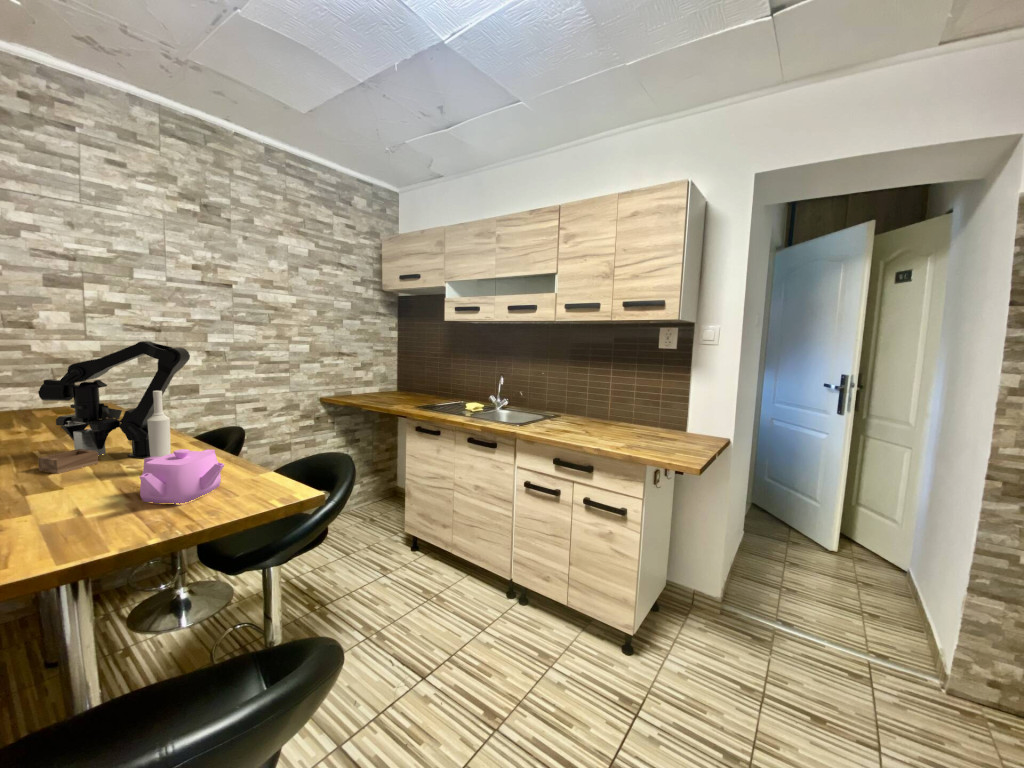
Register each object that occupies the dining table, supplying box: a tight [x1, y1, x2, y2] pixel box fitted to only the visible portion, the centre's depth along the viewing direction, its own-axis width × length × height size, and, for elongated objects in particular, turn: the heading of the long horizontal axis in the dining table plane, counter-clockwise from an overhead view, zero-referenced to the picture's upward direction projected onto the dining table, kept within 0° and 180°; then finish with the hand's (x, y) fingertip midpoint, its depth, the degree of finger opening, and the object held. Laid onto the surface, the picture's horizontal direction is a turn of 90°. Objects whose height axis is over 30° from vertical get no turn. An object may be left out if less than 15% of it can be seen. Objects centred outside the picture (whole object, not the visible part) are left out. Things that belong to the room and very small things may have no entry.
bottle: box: [147, 391, 172, 457], centre depth 122 cm, size 5×5×25 cm
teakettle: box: [139, 448, 225, 504], centre depth 108 cm, size 17×17×12 cm
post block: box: [37, 449, 99, 475], centre depth 122 cm, size 7×10×4 cm
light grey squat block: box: [73, 428, 107, 455], centre depth 132 cm, size 4×6×9 cm, turn 168°
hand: (90, 447), depth 132 cm, fingers open, 8 cm apart
